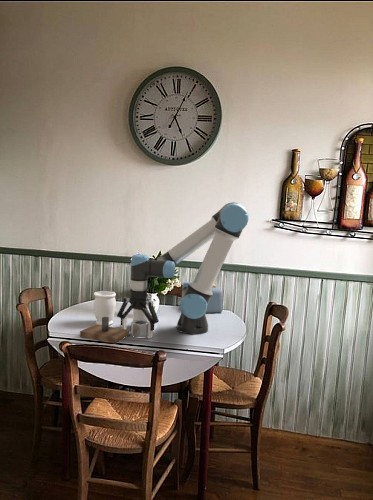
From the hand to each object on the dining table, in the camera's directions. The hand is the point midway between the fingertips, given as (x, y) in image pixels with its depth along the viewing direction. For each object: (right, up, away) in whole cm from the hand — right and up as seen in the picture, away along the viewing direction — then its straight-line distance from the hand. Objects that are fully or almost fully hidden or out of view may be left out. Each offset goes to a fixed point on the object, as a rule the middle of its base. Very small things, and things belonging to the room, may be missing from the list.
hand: (136, 335), depth 210 cm
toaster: (+33, +5, +48) cm, 58 cm away
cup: (+1, +2, +13) cm, 14 cm away
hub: (+1, 0, 0) cm, 2 cm away
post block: (-14, 0, -3) cm, 14 cm away
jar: (-18, +3, +15) cm, 23 cm away
